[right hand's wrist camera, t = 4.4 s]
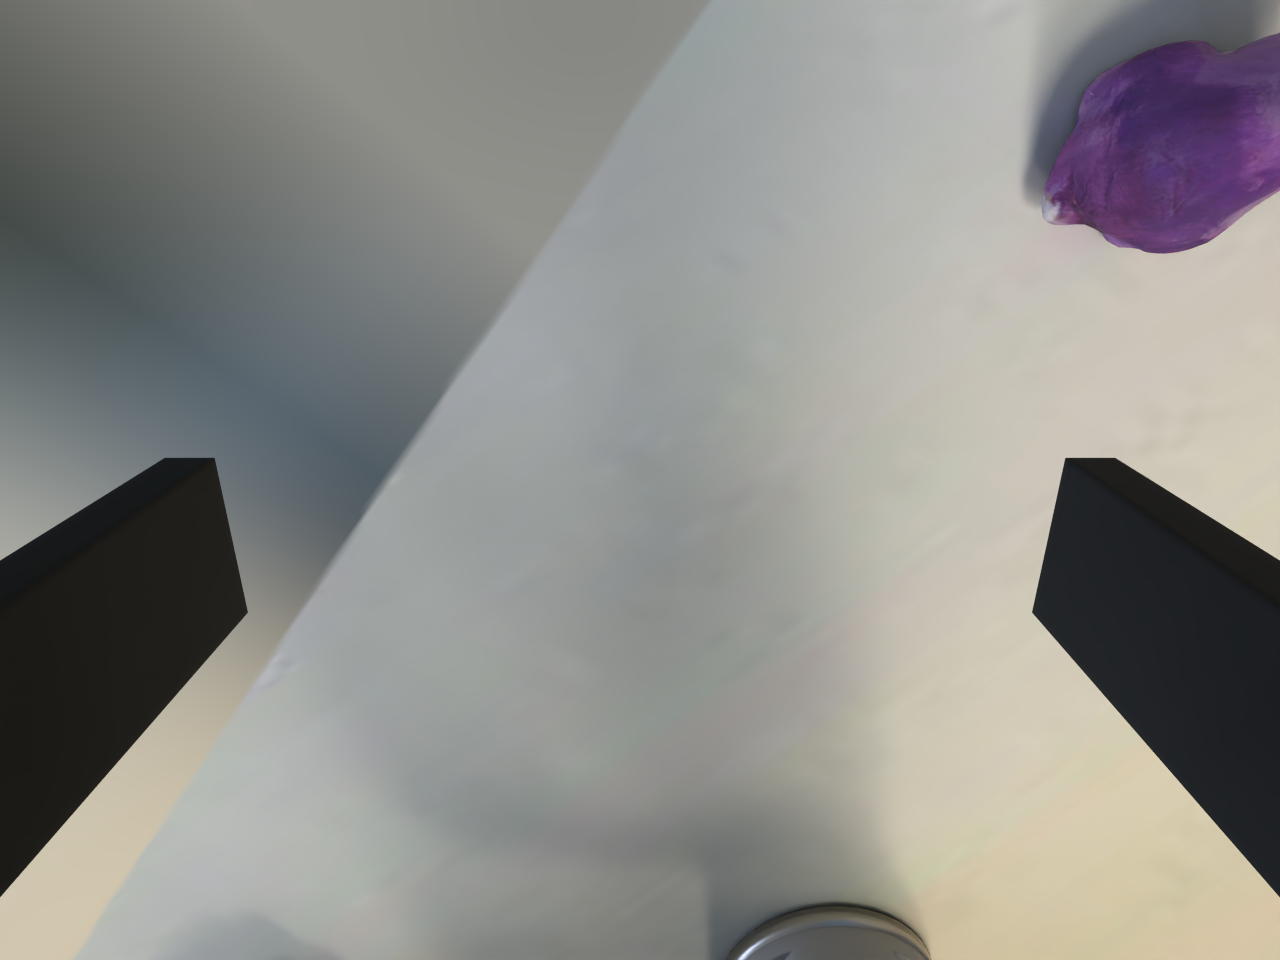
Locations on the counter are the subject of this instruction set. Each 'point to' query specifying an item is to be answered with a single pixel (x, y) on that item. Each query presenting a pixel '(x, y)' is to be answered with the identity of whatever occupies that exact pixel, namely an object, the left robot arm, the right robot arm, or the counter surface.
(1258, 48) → the figurine
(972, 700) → the counter surface
